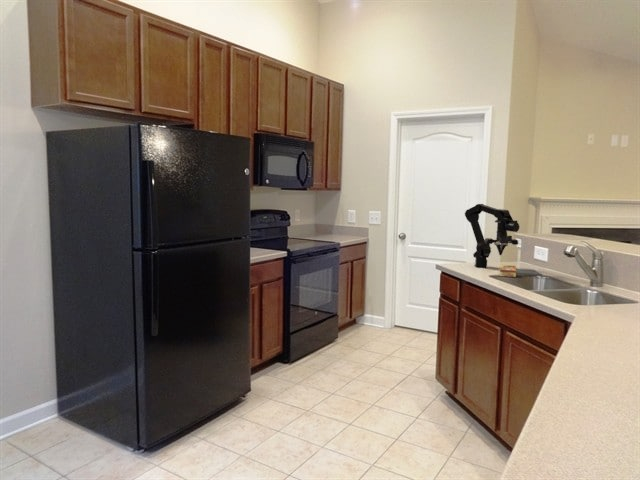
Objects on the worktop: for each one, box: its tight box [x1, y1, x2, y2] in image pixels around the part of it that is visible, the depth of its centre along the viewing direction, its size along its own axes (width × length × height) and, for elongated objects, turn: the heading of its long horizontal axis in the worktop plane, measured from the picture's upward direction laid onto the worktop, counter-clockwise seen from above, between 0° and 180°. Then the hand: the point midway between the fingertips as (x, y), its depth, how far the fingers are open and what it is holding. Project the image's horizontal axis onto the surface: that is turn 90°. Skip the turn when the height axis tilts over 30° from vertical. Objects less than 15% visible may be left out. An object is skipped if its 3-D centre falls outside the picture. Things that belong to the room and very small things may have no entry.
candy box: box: [499, 264, 517, 278], centre depth 283 cm, size 9×4×15 cm
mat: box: [516, 268, 543, 276], centre depth 291 cm, size 16×15×1 cm
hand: (500, 255), depth 291 cm, fingers closed
